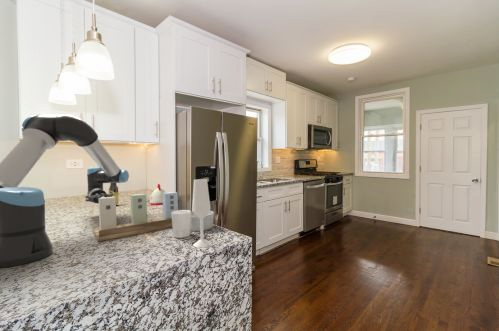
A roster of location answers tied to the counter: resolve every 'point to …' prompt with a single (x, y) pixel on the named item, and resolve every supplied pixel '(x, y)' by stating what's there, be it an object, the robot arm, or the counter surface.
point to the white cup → (181, 223)
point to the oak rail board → (132, 229)
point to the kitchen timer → (157, 196)
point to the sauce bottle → (114, 191)
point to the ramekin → (206, 221)
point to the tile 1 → (107, 213)
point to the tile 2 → (138, 208)
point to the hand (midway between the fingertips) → (104, 201)
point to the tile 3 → (169, 204)
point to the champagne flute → (201, 207)
